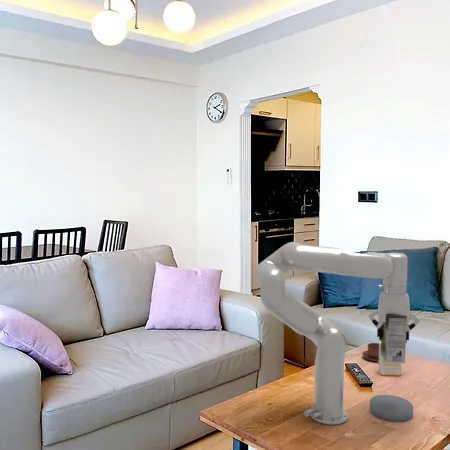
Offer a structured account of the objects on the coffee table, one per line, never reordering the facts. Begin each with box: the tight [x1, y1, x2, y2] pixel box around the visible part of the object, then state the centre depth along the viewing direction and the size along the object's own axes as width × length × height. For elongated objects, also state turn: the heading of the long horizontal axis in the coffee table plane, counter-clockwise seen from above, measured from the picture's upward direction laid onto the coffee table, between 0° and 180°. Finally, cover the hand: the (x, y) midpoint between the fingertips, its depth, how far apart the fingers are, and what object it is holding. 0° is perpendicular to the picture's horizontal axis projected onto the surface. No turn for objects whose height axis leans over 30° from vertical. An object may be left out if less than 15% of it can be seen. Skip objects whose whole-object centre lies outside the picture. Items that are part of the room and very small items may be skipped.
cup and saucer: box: [361, 342, 379, 363], centre depth 220 cm, size 12×12×6 cm
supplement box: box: [378, 340, 402, 377], centre depth 202 cm, size 8×5×13 cm, turn 84°
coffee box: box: [380, 314, 407, 364], centre depth 167 cm, size 9×6×16 cm
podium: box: [369, 394, 414, 423], centre depth 169 cm, size 14×14×3 cm
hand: (392, 340), depth 167 cm, fingers closed on coffee box, 7 cm apart
